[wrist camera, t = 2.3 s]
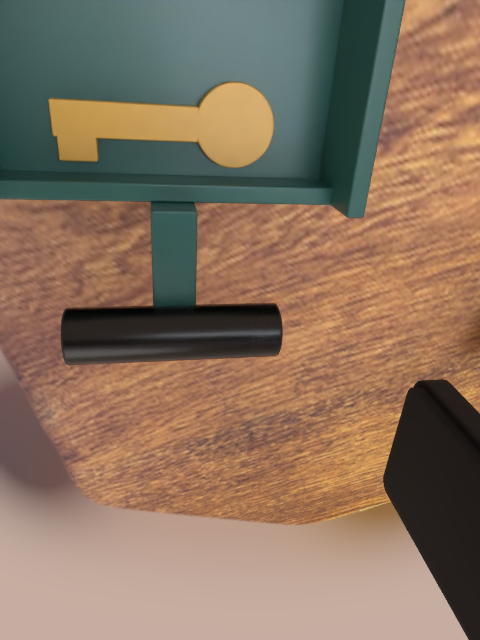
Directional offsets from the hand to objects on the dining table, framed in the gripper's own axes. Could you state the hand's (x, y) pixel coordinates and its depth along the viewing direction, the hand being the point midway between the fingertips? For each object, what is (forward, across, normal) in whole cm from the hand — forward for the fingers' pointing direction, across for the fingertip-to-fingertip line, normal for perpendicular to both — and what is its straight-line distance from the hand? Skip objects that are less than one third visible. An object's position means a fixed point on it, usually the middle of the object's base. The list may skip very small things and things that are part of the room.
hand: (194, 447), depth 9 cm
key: (+7, 0, -6) cm, 9 cm away
